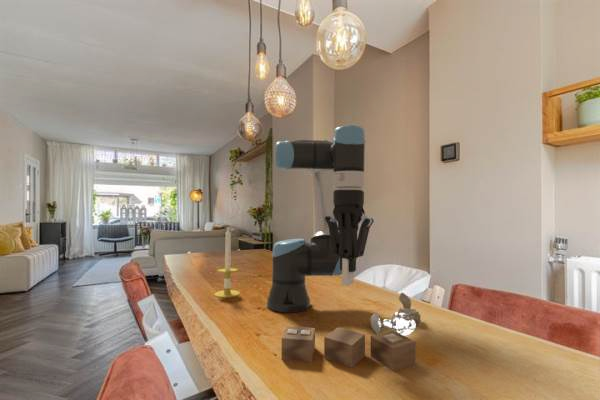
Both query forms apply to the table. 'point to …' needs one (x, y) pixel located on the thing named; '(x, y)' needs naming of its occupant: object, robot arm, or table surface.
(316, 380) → the table surface
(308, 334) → the dot block two
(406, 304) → the bone
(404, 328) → the figurine
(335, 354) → the plain block
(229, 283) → the candle
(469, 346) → the table surface
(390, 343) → the dot block one
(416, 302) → the table surface
